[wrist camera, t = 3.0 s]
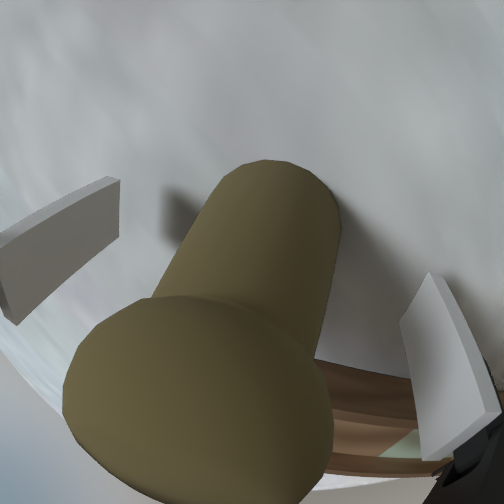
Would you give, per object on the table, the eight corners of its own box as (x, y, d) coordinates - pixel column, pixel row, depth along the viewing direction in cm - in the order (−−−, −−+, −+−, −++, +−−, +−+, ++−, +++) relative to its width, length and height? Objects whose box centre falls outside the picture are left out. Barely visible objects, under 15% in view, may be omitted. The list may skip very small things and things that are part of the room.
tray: (190, 321, 17) (154, 387, 12) (516, 392, 15) (531, 437, 10) (183, 402, 22) (161, 451, 17) (449, 449, 20) (453, 489, 15)
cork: (369, 212, 12) (440, 507, 2) (292, 306, 15) (241, 536, 5) (244, 132, 11) (-34, 292, 2) (186, 244, 14) (36, 438, 5)
